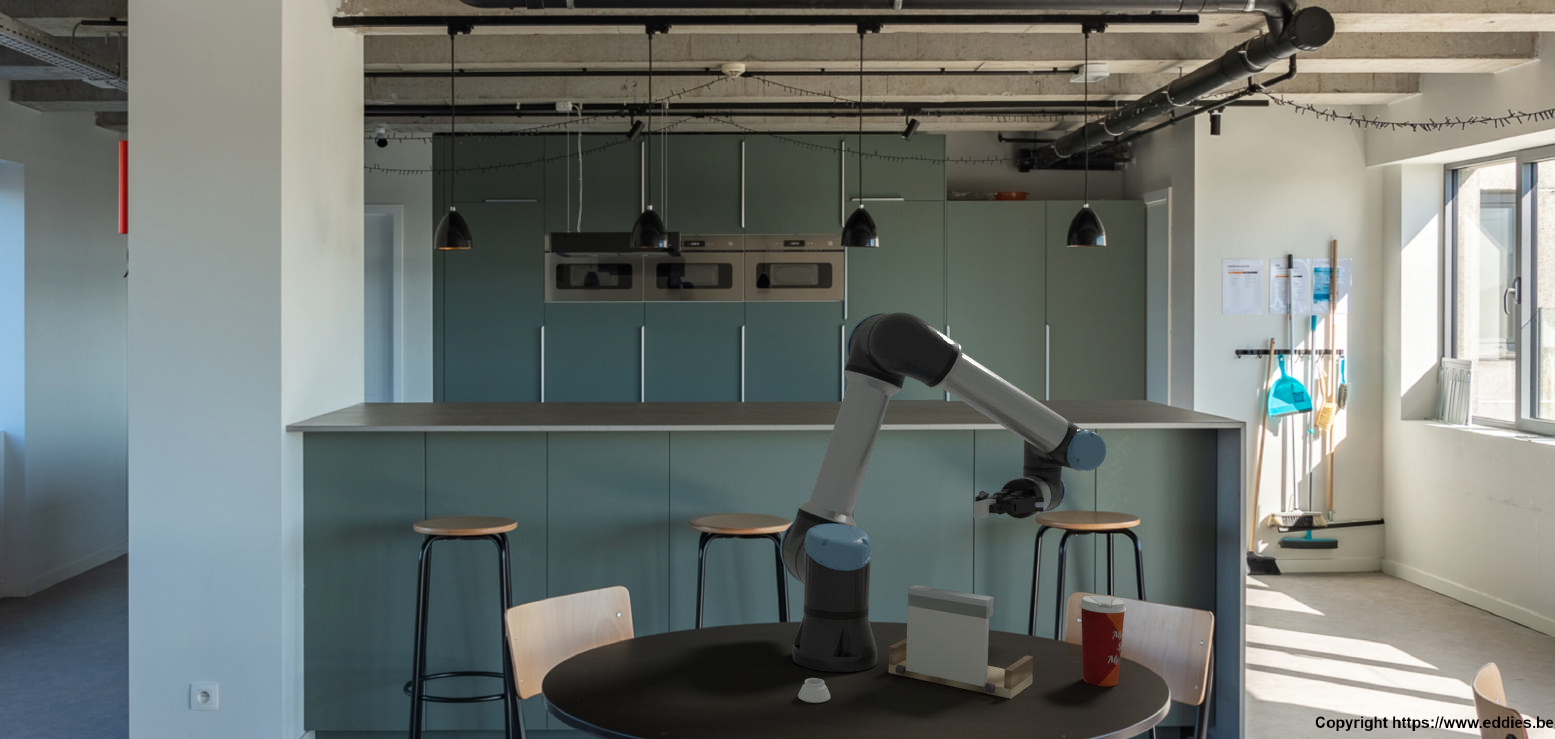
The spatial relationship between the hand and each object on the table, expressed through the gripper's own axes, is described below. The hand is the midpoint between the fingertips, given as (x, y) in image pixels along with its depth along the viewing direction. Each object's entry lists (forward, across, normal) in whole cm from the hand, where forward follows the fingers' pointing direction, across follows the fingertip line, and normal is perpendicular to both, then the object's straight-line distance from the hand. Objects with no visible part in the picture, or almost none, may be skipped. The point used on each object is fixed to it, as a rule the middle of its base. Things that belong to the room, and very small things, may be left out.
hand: (977, 510), depth 181 cm
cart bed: (+7, 0, -28) cm, 29 cm away
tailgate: (+11, 0, -27) cm, 29 cm away
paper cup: (-8, -20, -28) cm, 35 cm away
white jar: (+30, +14, -28) cm, 44 cm away
